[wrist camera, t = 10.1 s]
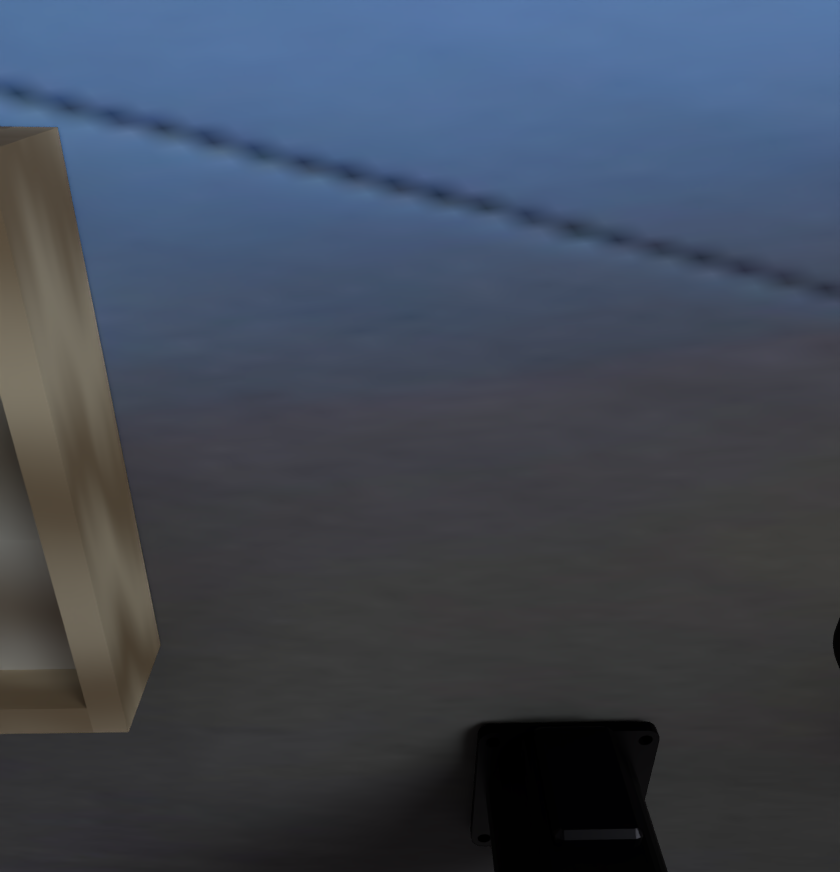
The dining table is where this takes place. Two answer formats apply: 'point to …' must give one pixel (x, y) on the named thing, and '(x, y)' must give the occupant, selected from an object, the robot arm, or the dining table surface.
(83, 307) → the tray
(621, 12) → the dining table surface
